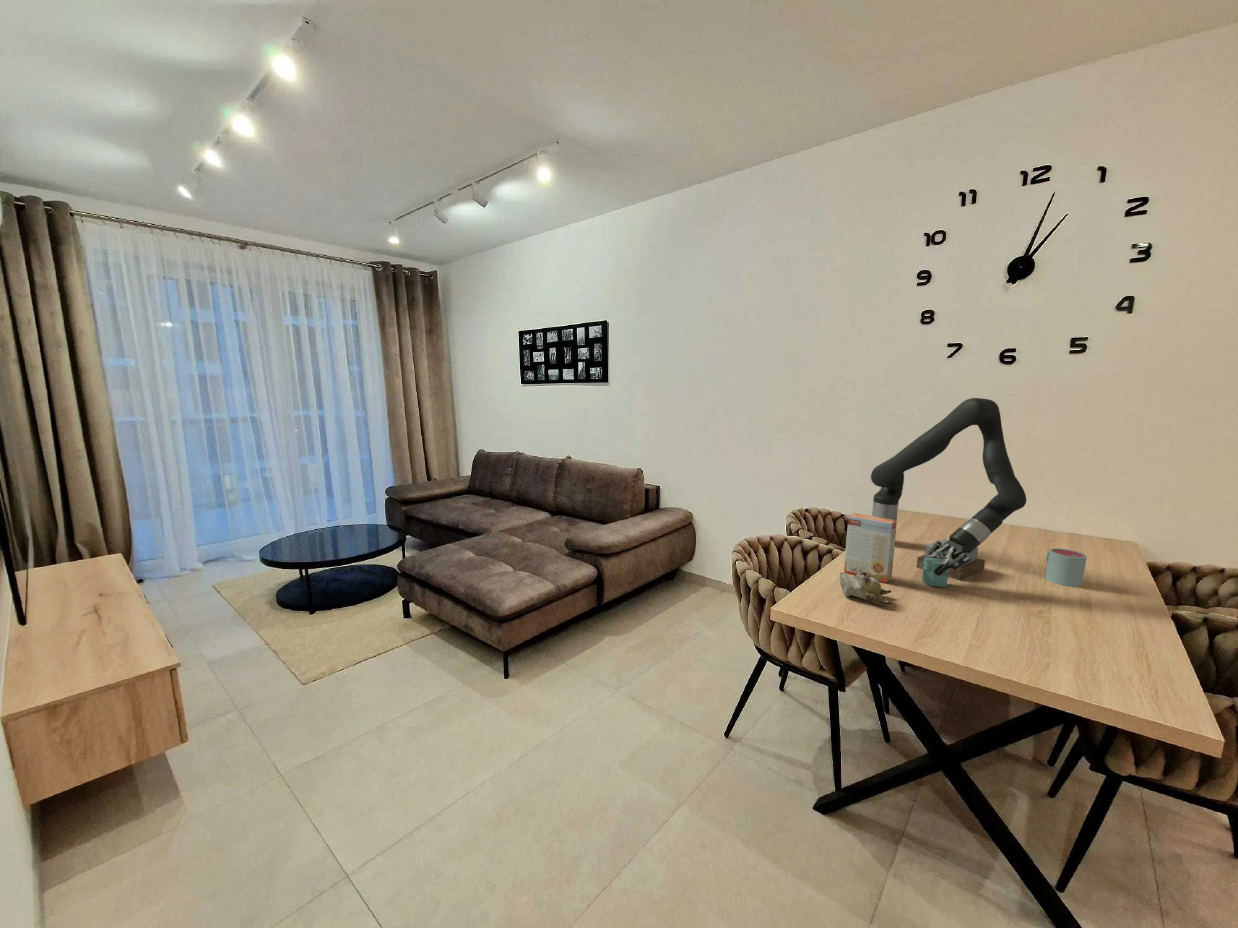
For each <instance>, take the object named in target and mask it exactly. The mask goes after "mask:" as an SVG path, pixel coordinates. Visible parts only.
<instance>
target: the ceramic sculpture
mask: <svg viewBox="0 0 1238 928" xmlns="http://www.w3.org/2000/svg"><path fill="white" fill-rule="evenodd" d="M839 585H840V586H841V590H842V594H844V596H845V597H850V596H854V597H857V598H859V599H861V600H864V601H868V602H872V603H874V604H875V605H892V602H891V601H889V600H888V599H887V598H886V597H885V595H887V594H890V593H892V590H890V589H886V590H885V589H884V588H882V586H881V582H880V581H878V580H877V579H876V578H874V577H870V576H867V573H859V574H857V575H854V576H852V575H851V574H849V573H845V572H843V571H841V572H839ZM883 595H884V596H883Z"/></svg>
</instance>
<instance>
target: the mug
mask: <svg viewBox="0 0 1238 928" xmlns="http://www.w3.org/2000/svg"><path fill="white" fill-rule="evenodd" d="M1087 557H1088V556H1087V555H1086V554H1085V553H1082V552H1081V551H1080V552H1079V551H1076V550H1071V549H1065V548H1050V549H1049V551H1048V552H1047V555H1046V564H1047V565H1046V572H1045V580H1047V581H1049V582H1050V583H1054V584H1056V585H1057V584H1058V585H1060V586H1065V587H1075V588H1078V587H1082V586H1083V581H1084V576H1085V570H1086V564H1087Z"/></svg>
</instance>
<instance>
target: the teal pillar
mask: <svg viewBox="0 0 1238 928" xmlns="http://www.w3.org/2000/svg"><path fill="white" fill-rule="evenodd" d="M943 562H944V560H942V559H940V558H924V567H923V569H922V576H921V582H923V583H925V584H926V585H928V586H930V587H931V588H939V587H940V588H943V587H944V588H946V587H947V585H948V580H949V579H948V578H949V577H948V572H949V569H947V570H946V571H945V572H944V573H943V574H941V575H940V576H938V575H936V574H935V573H934V570H935V569H936V568H937V567H938V566H940V565H941V564H943Z"/></svg>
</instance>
